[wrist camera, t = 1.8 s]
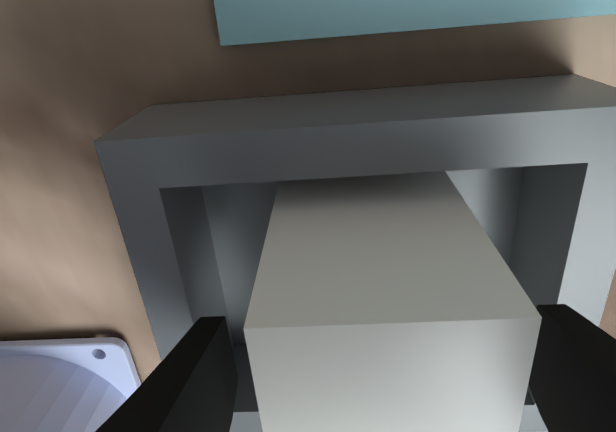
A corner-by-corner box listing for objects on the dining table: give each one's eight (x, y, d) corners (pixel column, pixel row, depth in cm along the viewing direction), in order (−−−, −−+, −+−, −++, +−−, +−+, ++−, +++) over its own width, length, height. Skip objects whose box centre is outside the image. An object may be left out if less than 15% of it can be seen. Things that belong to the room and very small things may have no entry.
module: (300, 324, 16) (283, 541, 10) (282, 167, 13) (243, 328, 7) (427, 319, 15) (495, 540, 9) (436, 158, 13) (542, 317, 7)
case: (210, 358, 17) (185, 438, 14) (149, 105, 13) (93, 141, 10) (523, 348, 17) (568, 431, 13) (575, 74, 12) (662, 103, 9)
